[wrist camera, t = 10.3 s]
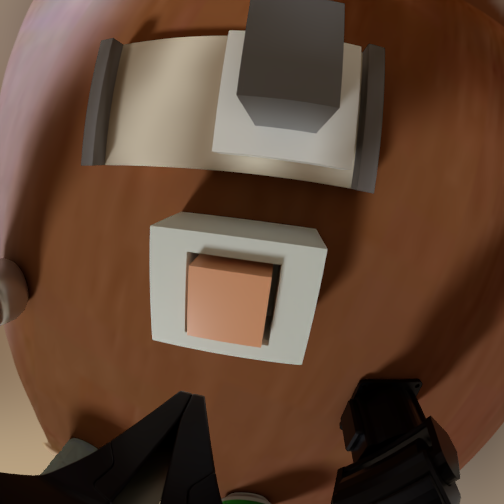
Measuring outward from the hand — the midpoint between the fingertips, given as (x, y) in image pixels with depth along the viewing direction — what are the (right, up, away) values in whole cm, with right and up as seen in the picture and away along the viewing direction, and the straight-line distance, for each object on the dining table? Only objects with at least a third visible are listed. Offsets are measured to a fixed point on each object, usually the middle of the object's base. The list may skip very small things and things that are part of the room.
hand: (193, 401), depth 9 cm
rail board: (0, +14, +8) cm, 17 cm away
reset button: (+1, +3, +9) cm, 10 cm away
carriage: (+4, +13, +6) cm, 15 cm away
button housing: (+1, +4, +11) cm, 12 cm away
